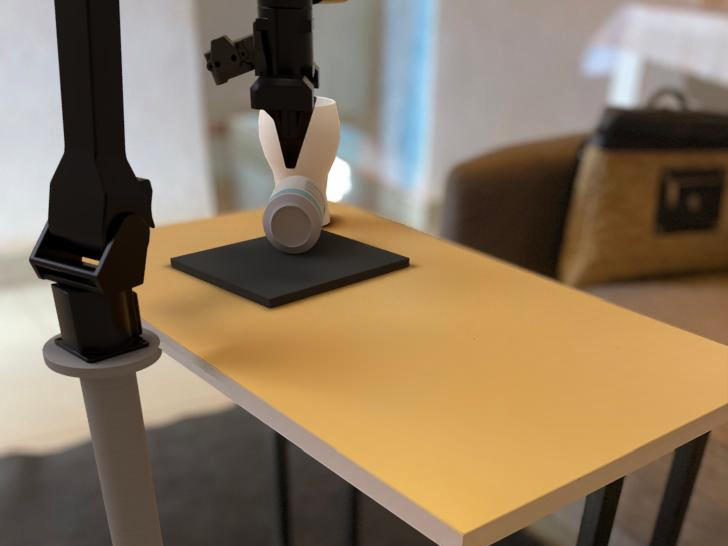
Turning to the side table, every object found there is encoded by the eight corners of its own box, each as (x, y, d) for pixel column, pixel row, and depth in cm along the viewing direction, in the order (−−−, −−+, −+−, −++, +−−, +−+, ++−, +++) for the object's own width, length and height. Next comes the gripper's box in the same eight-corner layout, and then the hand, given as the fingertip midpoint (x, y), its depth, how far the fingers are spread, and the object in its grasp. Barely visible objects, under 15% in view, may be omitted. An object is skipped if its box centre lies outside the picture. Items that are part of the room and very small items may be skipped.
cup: (255, 228, 112) (247, 103, 104) (273, 208, 121) (268, 92, 112) (333, 234, 112) (332, 109, 103) (346, 213, 120) (346, 97, 112)
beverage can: (274, 263, 101) (284, 235, 110) (328, 246, 100) (333, 219, 109) (252, 206, 97) (264, 182, 106) (308, 188, 96) (315, 165, 105)
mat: (270, 308, 89) (269, 298, 88) (170, 266, 98) (169, 258, 98) (409, 265, 102) (409, 257, 102) (310, 232, 112) (310, 225, 111)
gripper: (218, -3, 94) (229, 148, 103) (191, 9, 78) (207, 185, 88) (318, 2, 94) (320, 151, 103) (310, 15, 79) (313, 189, 88)
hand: (290, 168), depth 96 cm, fingers closed
